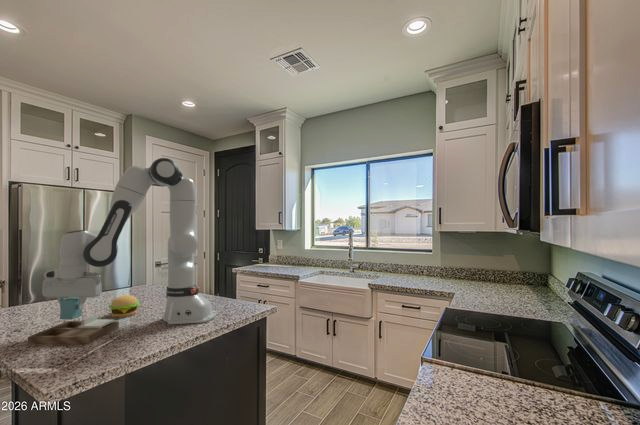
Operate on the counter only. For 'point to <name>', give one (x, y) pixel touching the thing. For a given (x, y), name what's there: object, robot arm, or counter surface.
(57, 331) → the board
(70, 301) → the block
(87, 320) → the cover
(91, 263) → the robot arm
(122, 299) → the hamburger
